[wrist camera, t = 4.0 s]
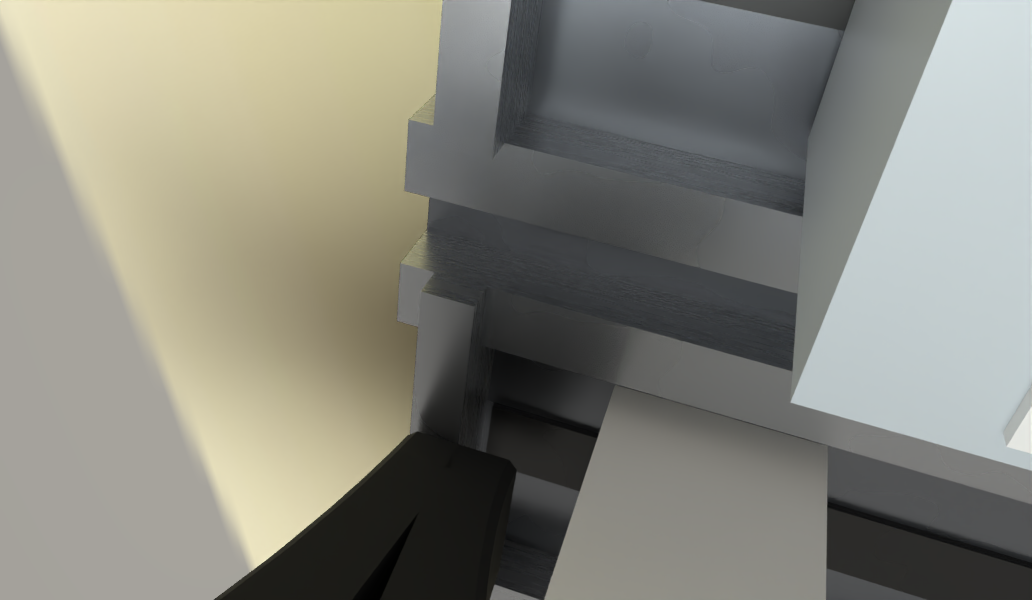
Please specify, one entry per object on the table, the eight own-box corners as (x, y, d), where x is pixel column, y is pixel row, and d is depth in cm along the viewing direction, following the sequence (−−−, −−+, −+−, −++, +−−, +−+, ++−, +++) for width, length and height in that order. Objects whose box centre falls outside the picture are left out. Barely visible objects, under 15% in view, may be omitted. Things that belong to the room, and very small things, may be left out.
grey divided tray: (1940, -346, 6) (2545, -375, 4) (1050, 702, 14) (1090, 889, 11) (541, -510, 8) (426, -593, 6) (435, 503, 15) (368, 634, 13)
